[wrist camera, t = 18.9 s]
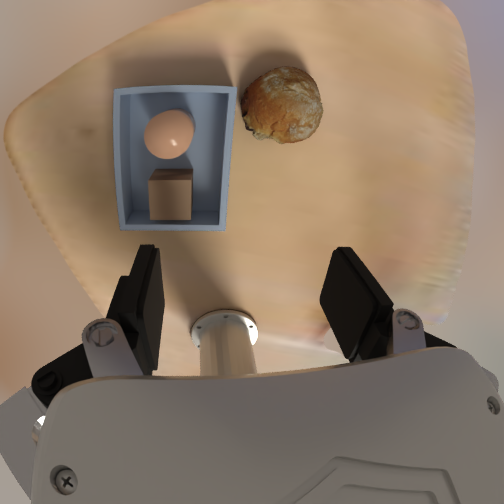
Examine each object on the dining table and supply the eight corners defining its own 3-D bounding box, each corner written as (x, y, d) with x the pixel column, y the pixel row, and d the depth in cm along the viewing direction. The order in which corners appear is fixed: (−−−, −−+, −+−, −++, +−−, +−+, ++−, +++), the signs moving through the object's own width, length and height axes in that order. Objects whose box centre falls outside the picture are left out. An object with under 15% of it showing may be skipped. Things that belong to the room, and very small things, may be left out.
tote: (223, 214, 40) (225, 231, 36) (129, 213, 37) (120, 230, 33) (233, 87, 31) (237, 87, 26) (126, 88, 28) (113, 88, 24)
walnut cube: (193, 168, 35) (191, 180, 31) (192, 204, 38) (190, 219, 33) (155, 168, 34) (148, 180, 30) (156, 204, 37) (150, 219, 33)
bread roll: (306, 127, 38) (347, 127, 32) (251, 157, 35) (290, 160, 29) (281, 66, 33) (322, 54, 26) (220, 89, 30) (255, 75, 24)
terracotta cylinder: (196, 108, 31) (193, 111, 25) (194, 146, 33) (191, 159, 28) (156, 108, 30) (144, 112, 24) (155, 146, 33) (144, 159, 27)
